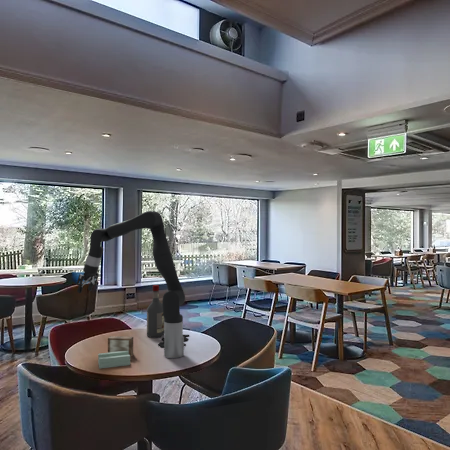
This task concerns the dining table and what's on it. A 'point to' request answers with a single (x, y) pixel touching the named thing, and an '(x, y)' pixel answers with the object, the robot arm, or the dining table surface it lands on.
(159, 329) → the liquor
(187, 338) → the figurine
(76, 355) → the dining table surface
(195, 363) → the dining table surface
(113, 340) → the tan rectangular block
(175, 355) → the robot arm
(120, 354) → the picture ledge
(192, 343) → the dining table surface
